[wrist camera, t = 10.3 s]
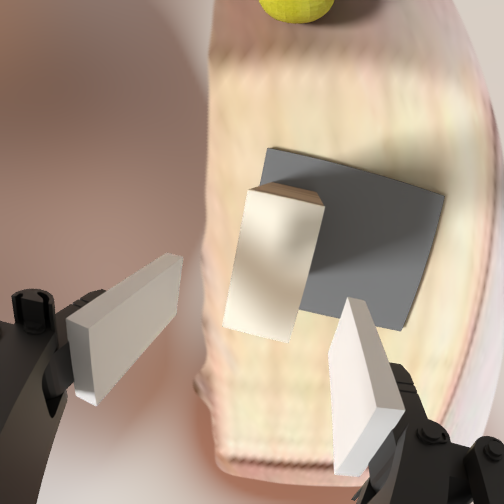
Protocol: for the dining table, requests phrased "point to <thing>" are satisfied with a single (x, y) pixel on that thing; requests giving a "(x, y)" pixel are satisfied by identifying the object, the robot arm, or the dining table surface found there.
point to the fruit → (296, 9)
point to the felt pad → (361, 236)
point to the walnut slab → (272, 260)
